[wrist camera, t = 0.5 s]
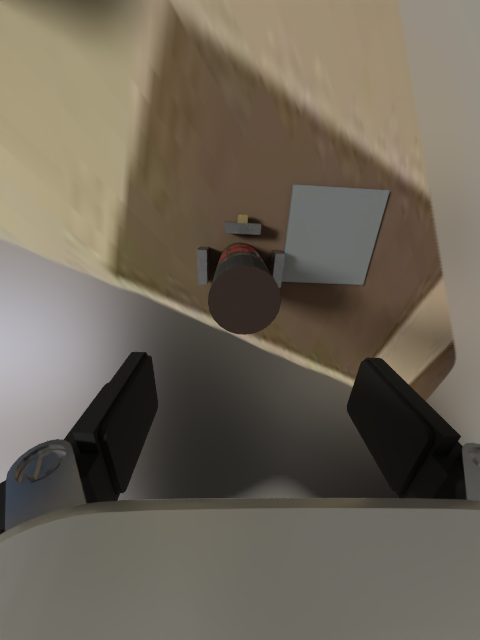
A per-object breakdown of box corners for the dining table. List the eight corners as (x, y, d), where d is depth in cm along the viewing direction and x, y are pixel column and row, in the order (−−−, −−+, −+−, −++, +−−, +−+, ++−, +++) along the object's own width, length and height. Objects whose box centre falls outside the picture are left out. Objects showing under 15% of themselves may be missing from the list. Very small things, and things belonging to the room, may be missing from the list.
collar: (199, 212, 29) (195, 212, 27) (284, 217, 30) (289, 217, 27) (201, 305, 35) (198, 313, 32) (273, 308, 35) (277, 316, 32)
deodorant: (268, 256, 32) (295, 288, 18) (247, 292, 34) (256, 344, 20) (231, 234, 30) (229, 250, 17) (211, 272, 33) (195, 315, 19)
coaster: (292, 185, 28) (293, 184, 28) (386, 190, 29) (389, 190, 28) (280, 280, 33) (281, 281, 33) (360, 283, 34) (363, 284, 33)
